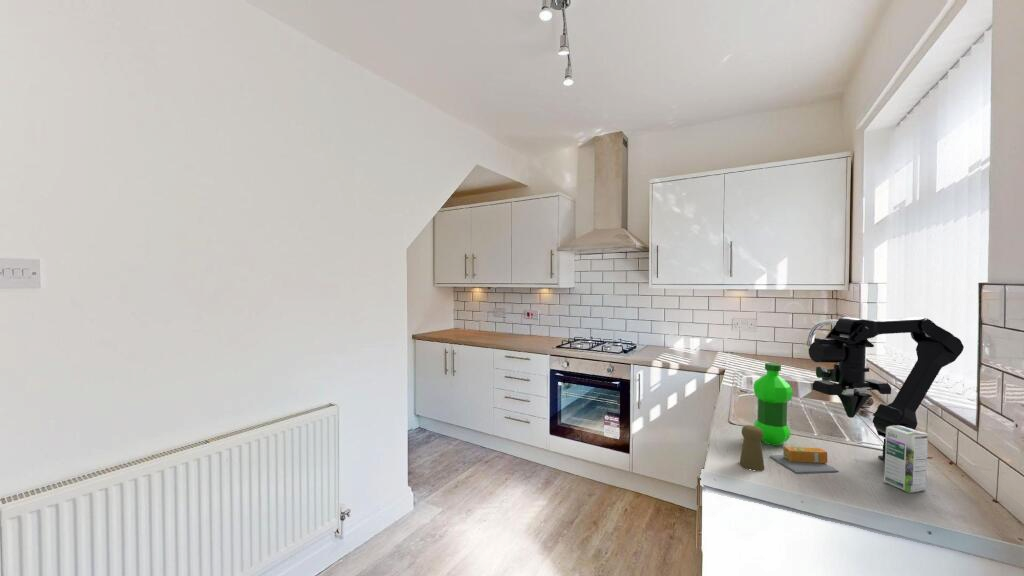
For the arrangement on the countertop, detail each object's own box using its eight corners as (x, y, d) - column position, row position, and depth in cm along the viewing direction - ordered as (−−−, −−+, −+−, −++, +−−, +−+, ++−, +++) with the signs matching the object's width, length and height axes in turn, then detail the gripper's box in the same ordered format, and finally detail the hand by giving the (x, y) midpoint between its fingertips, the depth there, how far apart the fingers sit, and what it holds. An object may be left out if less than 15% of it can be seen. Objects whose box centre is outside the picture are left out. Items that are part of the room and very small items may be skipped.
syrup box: (882, 482, 103) (884, 426, 102) (900, 479, 104) (901, 424, 104) (909, 493, 97) (911, 434, 97) (927, 490, 99) (929, 432, 98)
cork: (766, 465, 112) (767, 426, 111) (761, 473, 107) (762, 432, 107) (742, 458, 116) (743, 421, 116) (736, 466, 111) (737, 427, 111)
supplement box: (827, 451, 112) (789, 450, 113) (828, 463, 112) (789, 463, 113) (819, 446, 115) (782, 446, 116) (820, 458, 115) (783, 458, 116)
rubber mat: (808, 455, 118) (808, 454, 118) (838, 472, 108) (838, 470, 108) (769, 456, 117) (769, 455, 117) (796, 473, 107) (796, 471, 107)
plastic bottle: (786, 438, 130) (788, 362, 130) (793, 451, 121) (795, 369, 120) (751, 433, 135) (752, 359, 134) (755, 445, 125) (756, 366, 124)
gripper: (856, 356, 121) (855, 407, 122) (798, 357, 120) (796, 408, 121) (893, 364, 110) (892, 420, 111) (829, 365, 109) (828, 421, 109)
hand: (850, 417), depth 113 cm, fingers closed
